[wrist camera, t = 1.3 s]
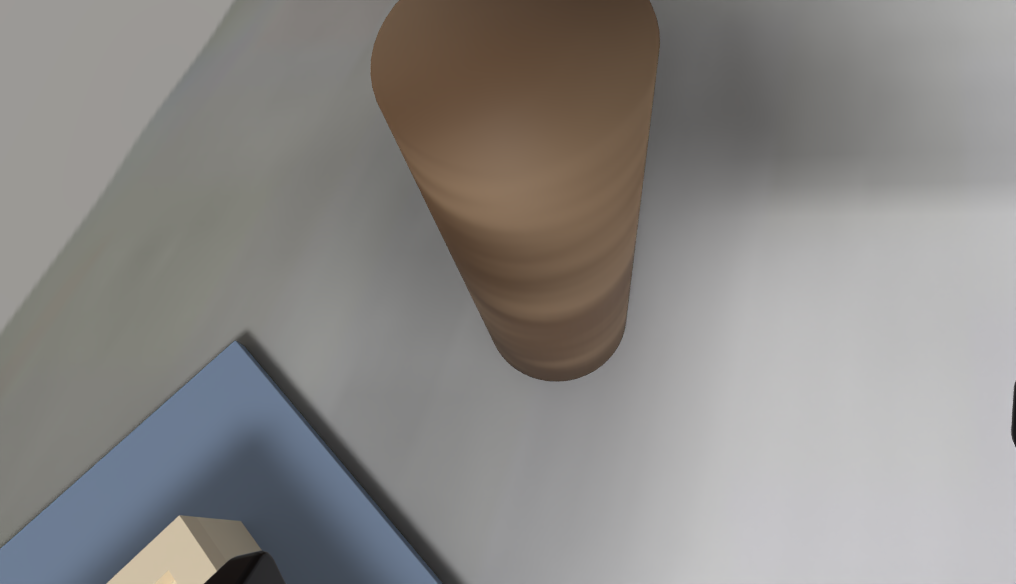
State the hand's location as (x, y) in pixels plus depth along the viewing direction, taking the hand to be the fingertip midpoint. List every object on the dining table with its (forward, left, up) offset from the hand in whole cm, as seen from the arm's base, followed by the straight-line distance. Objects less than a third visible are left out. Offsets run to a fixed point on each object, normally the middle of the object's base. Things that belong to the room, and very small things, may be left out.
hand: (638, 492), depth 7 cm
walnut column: (+6, -4, -13) cm, 15 cm away
